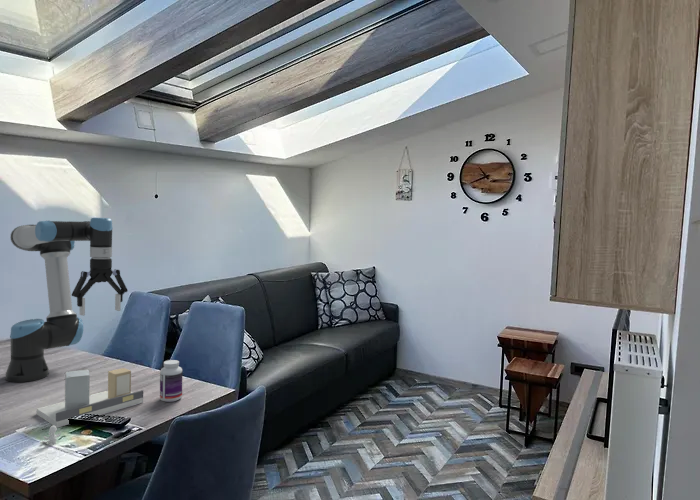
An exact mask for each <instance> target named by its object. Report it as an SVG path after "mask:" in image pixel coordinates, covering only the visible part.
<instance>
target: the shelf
mask: <svg viewBox="0 0 700 500" xmlns="http://www.w3.org/2000/svg"><path fill="white" fill-rule="evenodd" d="M143 403H144V390H143V389H141V390H137V391H131V393H129V394H126V395H122V396H118V397H114V398H111V399H109V398H108V390H104V391H101V392H96V393H93V394H89V404H88V405H85V406H81V407H77V408H74V409H70V410H66V411H65V401H61V402H57V403H54V404H53V403H52V404H49V405H46V406H41V407H37V408H36V415H37V416H38V417H40V418H41V419H42V420H45V421H46V422H48V423H49V424H50V425H51V426H53V425H54V426H56V428H57V429H58V428H60V427H64V426H67V425H70V424H69V420H68V419H69V418H71V417H73V416H78V415H83V414H98V415H99V416H102V415H104V414H105V415H106V414H109V413H112V412H115V411H118V410H123V409H125V408H129V407H133V406H135V405H139V404H143Z"/></svg>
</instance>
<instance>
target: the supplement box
mask: <svg viewBox="0 0 700 500" xmlns="http://www.w3.org/2000/svg"><path fill="white" fill-rule="evenodd" d="M64 374H65V378H64V380H65V381H64V382H65V383H64V402H65V411H66V410H70V409H74V408H77V407H81V406H85V405H88V404H89V395H90V378H91V377H90V376H91V375H90V370H89V369H79V370H73V371H72V370H71V371H66V372H65V373H64Z"/></svg>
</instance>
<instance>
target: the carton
mask: <svg viewBox="0 0 700 500" xmlns="http://www.w3.org/2000/svg"><path fill="white" fill-rule="evenodd" d="M107 391H108V398H109V399H111V398H114V397H118V396H122V395H126V394H129V393H131V392H132V371H131V370H130V369H128V368H125V367H122V368H116V369H113V370H109V371H107Z"/></svg>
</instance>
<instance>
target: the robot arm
mask: <svg viewBox="0 0 700 500" xmlns="http://www.w3.org/2000/svg"><path fill="white" fill-rule="evenodd" d="M10 242H11V243H12V245H13V246H14V247H16V248H17V249H19V250H21V251H25V252H39V257H41V258H42V259H43V260H44V266H45V274H46V287H47V298H48V305H49V307H48V308H49V314H48V315H47V316H46V317H45V319H46V321H44V319H42V318H34V319H33V318H30V319H24V320H22V321H21V320H20V321H19V322H16V323H14V324H12V326H11V327H10V335H9V339H10V361H9V363H8V367H7V368H6V372H5V380H6V381H7V382H10V383H27V382H28V383H29V382H34V381H37V380H38V381H39V380H41V379H43V378H46V377H48V376H47V375H49V367H48V364H47V361H46V359H45V352H44V351H45V350H50V349H56V348H61V347H62V348H63V347H70V346H74V345H77V344H78V343H80V341H81V340H82V338H83V334H84V323H83V320H82V318H80V317H79V316H78V315H77V313H76V312H75V311H74V310H73V304H72V303H73V302H72V297H73V298H76V305H77V307H79V315H80V316H84V317H85V315H86V298H85V295H86V294H87V293H88V291H89V290H90V289H91V288H92V287H93V286H94V285H95V284H96V283H98V284H99V283H106V282H107V283H108V284H109V285H110V286H111V287H112V288H113V290H115V292H116V293H115V294H114V300H115V301H114V304H115V305H114V310H115V311H118V312H121V304H122V303H123V298H124V294H125V293H127V292H128V288H127V286H126V283H125V282H124V280H123V278H122V276H121V270H120V269H116V268H115V269H112V267H113V263H112V262H113V259H112V257H113V220H112V218H110V217H91V218H90V220H87V221H86V220H84V221H74V220H73V221H70V220H69V221H62V220H56V221H55V220H39V221H38V222H37V223H36V224H24V225H19V226H17V227H15V228H14V229H13V230H12V231H11V233H10ZM76 242H89V243H90V245H89V257H90V259H89V271H84V270H82V271H81V272H80V276H79V277H80V278H79V279H78V281H77V283H76V285H75V287H74V289H73V291H72V293H71V284H70V276H69V265H68V257H69V256H70V255H71V251H73V250H74V248H75V243H76ZM112 275H113V276H114V278H115V280H116V282H117V283H118V284H117V283H116V282H115V281H114V280H113V278H112V277H111V276H112ZM89 277H90V278H89ZM87 278H89V279H88V281H87ZM86 281H87V282H86ZM85 283H86V284H85Z"/></svg>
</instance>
